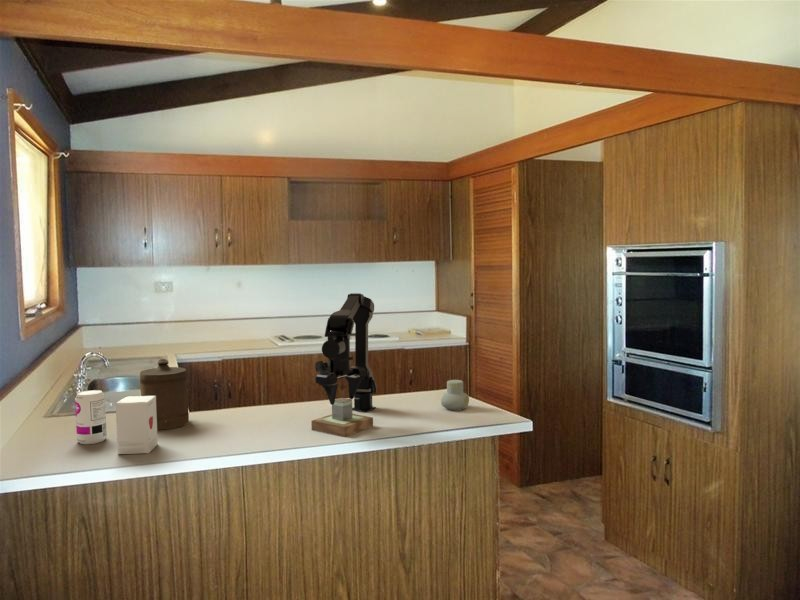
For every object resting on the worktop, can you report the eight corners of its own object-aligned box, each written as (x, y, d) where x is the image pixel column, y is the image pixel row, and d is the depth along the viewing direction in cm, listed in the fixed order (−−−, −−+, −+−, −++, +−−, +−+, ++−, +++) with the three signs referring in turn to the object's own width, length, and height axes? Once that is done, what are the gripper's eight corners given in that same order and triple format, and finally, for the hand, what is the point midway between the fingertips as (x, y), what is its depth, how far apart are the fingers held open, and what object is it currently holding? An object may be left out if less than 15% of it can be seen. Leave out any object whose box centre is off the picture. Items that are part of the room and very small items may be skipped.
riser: (340, 420, 215) (340, 410, 215) (373, 426, 207) (372, 416, 207) (311, 429, 204) (311, 420, 204) (344, 436, 196) (344, 426, 196)
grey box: (341, 415, 209) (341, 397, 208) (352, 417, 206) (352, 399, 205) (332, 418, 205) (331, 400, 204) (343, 421, 202) (342, 402, 202)
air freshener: (448, 404, 236) (448, 377, 235) (470, 406, 233) (470, 379, 232) (439, 411, 226) (439, 383, 225) (462, 413, 223) (462, 384, 222)
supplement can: (76, 446, 190) (73, 396, 189) (78, 439, 197) (75, 391, 196) (106, 442, 193) (104, 393, 192) (107, 435, 200) (104, 388, 199)
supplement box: (149, 453, 182) (147, 402, 180) (116, 455, 181) (114, 403, 180) (158, 444, 191) (156, 395, 190) (127, 445, 190) (125, 395, 189)
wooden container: (166, 416, 223) (163, 354, 221) (198, 421, 217) (195, 357, 215) (131, 427, 210) (128, 361, 208) (164, 432, 203) (161, 364, 202)
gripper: (341, 347, 216) (342, 393, 217) (302, 355, 201) (303, 404, 202) (366, 350, 209) (367, 397, 211) (328, 358, 194) (329, 408, 195)
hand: (341, 401), depth 205 cm, fingers open, 9 cm apart
